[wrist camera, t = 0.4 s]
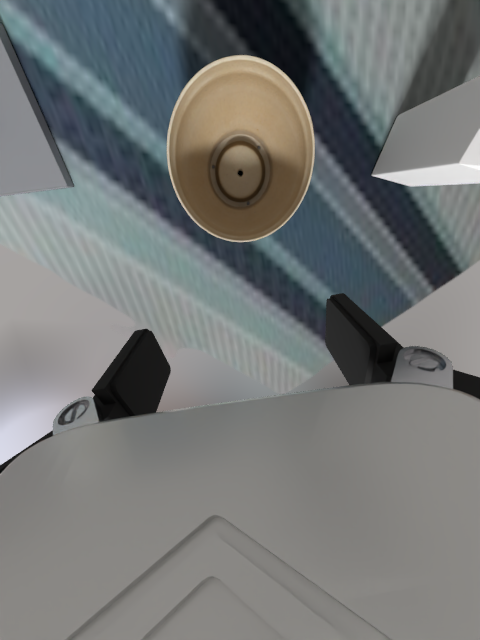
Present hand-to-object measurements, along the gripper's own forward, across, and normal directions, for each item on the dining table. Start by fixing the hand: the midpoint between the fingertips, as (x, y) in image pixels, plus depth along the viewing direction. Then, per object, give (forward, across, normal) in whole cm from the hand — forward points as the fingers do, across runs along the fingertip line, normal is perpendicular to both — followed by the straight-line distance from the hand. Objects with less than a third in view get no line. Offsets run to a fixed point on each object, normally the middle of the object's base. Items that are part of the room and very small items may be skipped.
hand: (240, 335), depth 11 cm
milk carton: (+30, -27, -7) cm, 41 cm away
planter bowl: (+30, -2, -9) cm, 32 cm away
